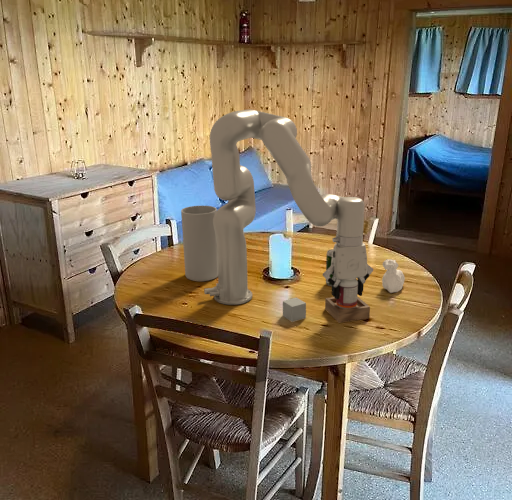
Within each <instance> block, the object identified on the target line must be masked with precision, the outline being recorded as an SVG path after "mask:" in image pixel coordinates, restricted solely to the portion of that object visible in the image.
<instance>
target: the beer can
mask: <svg viewBox="0 0 512 500" xmlns="http://www.w3.org/2000/svg"><path fill="white" fill-rule="evenodd" d="M332 253H333V249H328V250H327V251H326V259H325V260H326V261H325V262H326V264H325V265H326V266H325V271H326V270H327V269H328V268H329V267H330V266H331V260H332ZM333 276H334V275H332V274H330V278H331V279H332V277H333ZM325 283H326V285H327V287H331V288H332V284H331V283H330V282H328V281H327V280H326V279H325Z"/></svg>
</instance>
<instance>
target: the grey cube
mask: <svg viewBox="0 0 512 500" xmlns="http://www.w3.org/2000/svg"><path fill="white" fill-rule="evenodd" d="M282 317H284V318H285V319H287V320H289V321H290V322H291V323H294V322H298V321H300V320H304V319H306V318H307V303H306V302H305V301H304V300H302V299H300V298H298V297H292V298H290V299H286V300H282Z"/></svg>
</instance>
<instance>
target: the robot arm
mask: <svg viewBox="0 0 512 500" xmlns="http://www.w3.org/2000/svg"><path fill="white" fill-rule="evenodd" d="M297 135H298V129H297V126H296V123H295V122H294V121H293V120H291V119H290V118H289V117H285V116H281V115H278V114H277V115H276V114H273V113H268V112H264V111H260V110H256V109H243V110H235V111H231V112H228V113H226V114H223V116H221V117H219V118H218V119H217V120H216V121H215V122H214V124H213V125H212V127H211V129H210V132H209V146H210V153H211V167H212V177H213V178H212V179H213V187H214V188H213V189H214V192H215V194H216V197H218V198H219V199H220V200H222V201H228V202H227V203H225V204H223V205H222V206H220V207H219V208H218V209H217V212H216V213H215V215H214V218H213V226H214V231H215V236H216V244H217V261H218V277H217V279H218V280H217V281H218V283H217V282H216V284H215V285H216V286H213V287H207V288H204V291H203V292H204V295H209V296H210V297H214V300H215V301H216V302H217V303H219V304H222V305H229V306H235V305H237V306H238V305H241V304H245V303H247V302H250V301H251V300H252V299H253V292H252V291H251V290H250V289H249V288H248V285H249V284H248V257H247V256H248V254H247V253H248V252H247V249H248V248H247V241H246V237H245V232H244V229H245V228H247V227H248V226H250V225H251V223H252V222H253V221H254V219H255V217H256V210H257V209H256V208H257V207H256V197H255V196H256V195H255V182H254V177H253V175H252V173H251V171H250V170H249V169H248V168H247V167H246V166H243V165H241V163H240V162H241V161H240V160H241V159H240V153H239V152H240V151H239V149H238V146H237V144H238V142H241V141H243V140H248V139H251V138H252V139H256V140H260V141H262V143H263V145H264V146H265V148H266V150H267V151H268V152H269V154H270V155H271V157H272V158H273V160H274V161H275V162H276V164H277V166H278V167H279V168H280V170H281V172H282V173H283V175H284V176H285V178H286V182H287V185H288V187H289V191H290V193H291V197H292V198H293V200H294V203H295V204H296V206H297V207H298V210H300V211H301V213H302V214H303V216H304V217H305V219H306V220H307V221H308V222H309V223H310V224H311V225H313V226H316V227H324V226H327V225H328V224H329V223H331V222H332V220H336V222H337V223H336V234H335V237H333V238H332V242H333V243H334V244H333V245H334V246H333V253H332V260H331V266H330V267H329V268H328V269H327V270H326V269H325V271H324V272H323V273H322V276H323V277H324V279H325V281H326V280H327V281H328V282H330V283H331V284H332V287H331V296H332V297H334V298H336V299H339V287H338V284H339V282H340V280H344V279H351V278H356V279H357V281H358V292H357V296H358V297H359V296H360V297H362V296H363V292H364V286H365V285H364V284H365V283H366V281H367V280H368V279H369V277H370V275H371V274H372V272H373V271H374V268H373V267H372V266H370V265H369V264H368V254H367V248H366V247H367V246H366V244H365V243H364V220H365V219H364V218H365V202H364V200H363V199H362V198H360V197H357V196H347V197H346V196H340V195H336V194H332V193H325V194H321V193H320V192H319V190H318V188H317V186H316V185H315V182H314V180H313V175H312V162H311V159H310V157H309V156H308V154H307V153H306V151H305V150H304V149H303V148H302V146H301V143H299V142H298V140H297ZM330 274H332V275H334V276H333V277H332V279H331V278H330Z"/></svg>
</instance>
